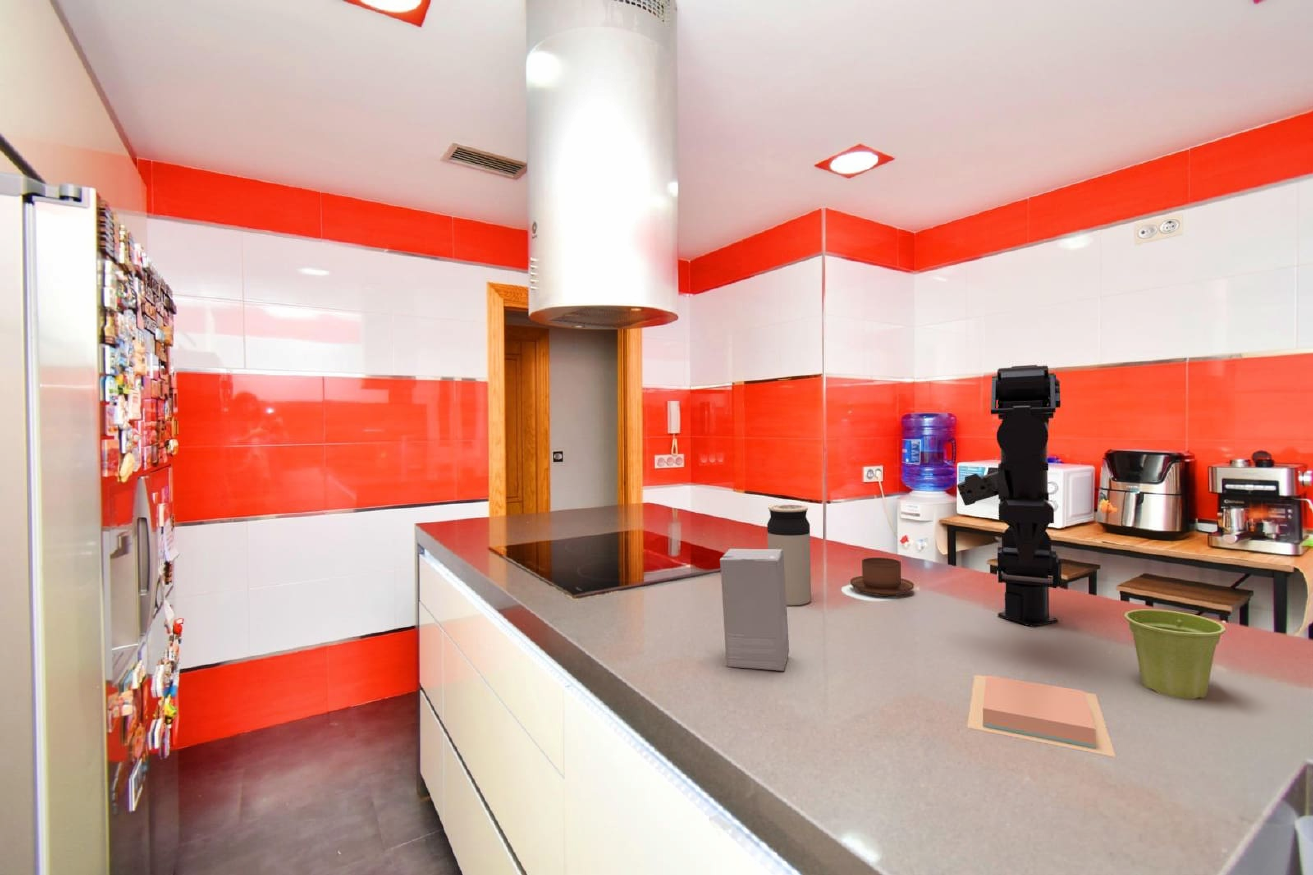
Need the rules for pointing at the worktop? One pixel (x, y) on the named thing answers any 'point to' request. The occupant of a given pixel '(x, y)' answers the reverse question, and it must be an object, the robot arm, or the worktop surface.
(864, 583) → the cup and saucer
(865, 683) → the worktop surface
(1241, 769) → the worktop surface
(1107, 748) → the cork mat
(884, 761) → the worktop surface
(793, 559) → the travel mug
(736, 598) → the skincare box
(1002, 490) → the robot arm
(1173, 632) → the plant pot
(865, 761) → the worktop surface
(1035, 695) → the tile
